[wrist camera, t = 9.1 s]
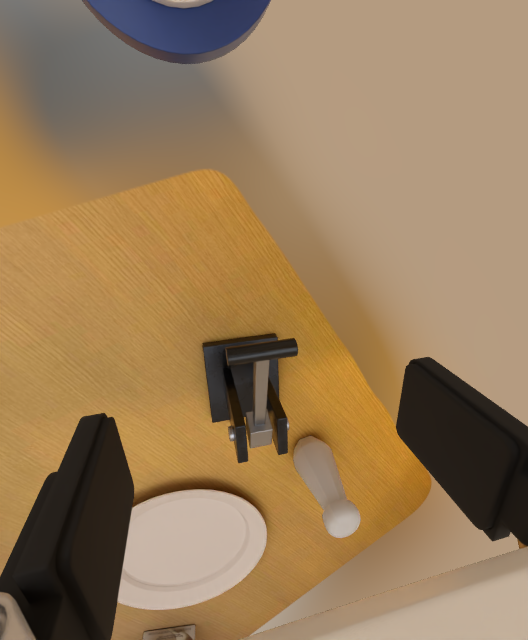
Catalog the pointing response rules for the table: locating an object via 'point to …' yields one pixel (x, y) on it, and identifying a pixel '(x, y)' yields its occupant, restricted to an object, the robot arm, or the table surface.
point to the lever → (260, 382)
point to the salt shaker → (326, 486)
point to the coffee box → (171, 633)
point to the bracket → (242, 393)
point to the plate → (189, 548)
